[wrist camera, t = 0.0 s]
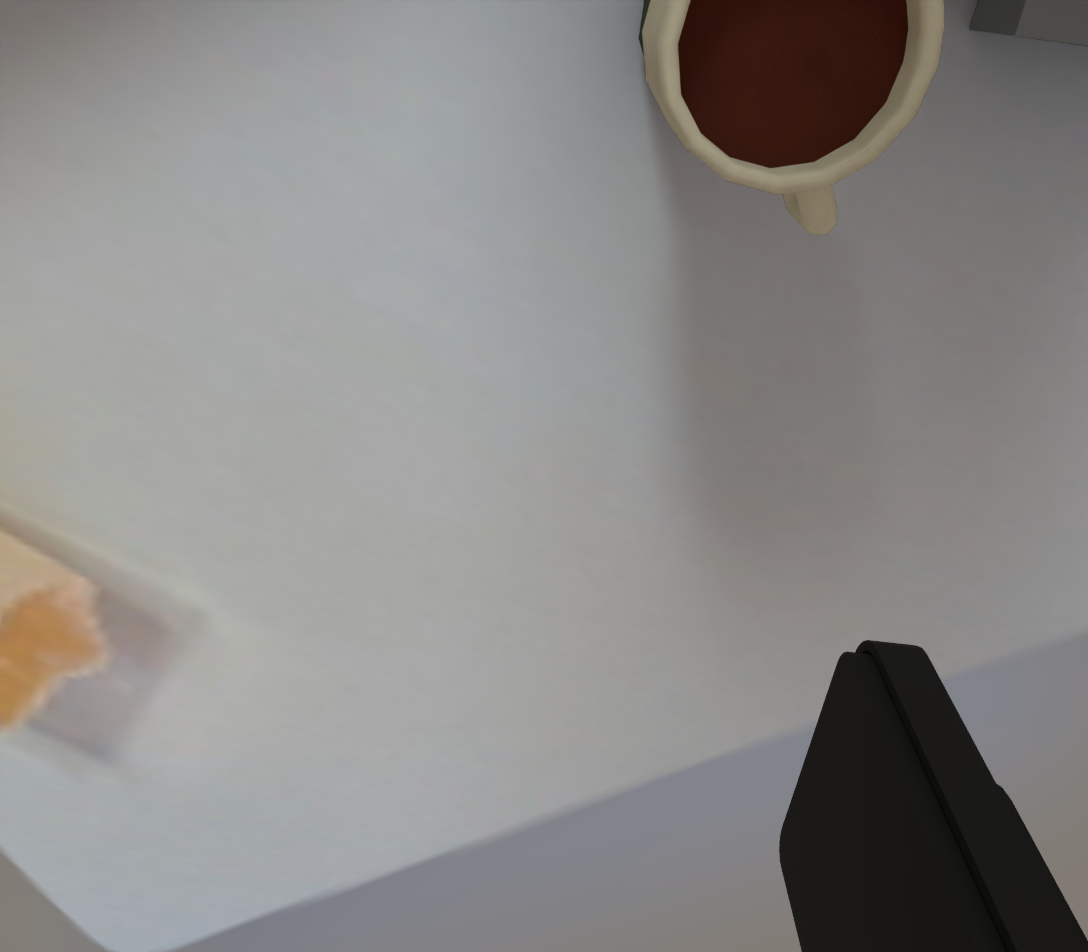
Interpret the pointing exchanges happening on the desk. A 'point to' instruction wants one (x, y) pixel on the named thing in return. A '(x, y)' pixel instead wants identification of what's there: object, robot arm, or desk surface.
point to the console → (1034, 19)
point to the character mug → (790, 87)
